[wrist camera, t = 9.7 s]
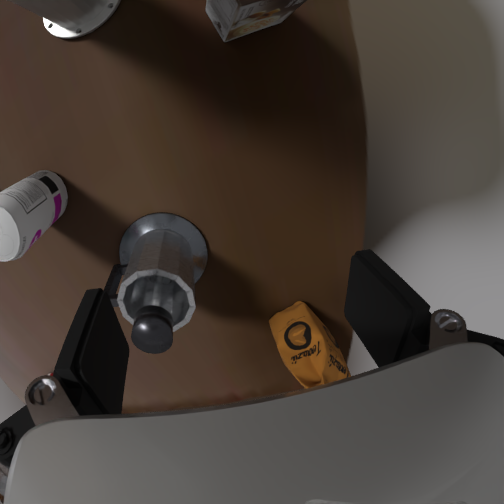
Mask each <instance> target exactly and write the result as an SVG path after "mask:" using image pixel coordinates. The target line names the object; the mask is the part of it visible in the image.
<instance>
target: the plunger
mask: <svg viewBox="0 0 504 504" xmlns="http://www.w3.org/2000/svg"><path fill="white" fill-rule="evenodd" d="M145 277H146V278H147V279H148V280H150V281H151V282H153V283H155V286H154V292H153V299H152V305H147V306H144V307H142V308H140V309H139V310H138V311H137V312H136V314H135V318H134V324H133V329H132V334H131V338H132V341H133V343H134V345H135V346H136V347H137V348H139V349H140V350H142V351H144V352H147V353H152V354H157V353H162V352H165V351H166V350H168V349H169V348H170V347H171V345H172V342H173V318H172V316H171V314H170V313H169V312H168V311H167V310H166V309H164V308H163V307H160V299H161V291H162V284H168V283H171V282H173V281H175V280H172V279H169V278H166V277H163V276H160V275H157V274H156V275H149V276H145Z"/></svg>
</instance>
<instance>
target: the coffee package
mask: <svg viewBox="0 0 504 504" xmlns="http://www.w3.org/2000/svg"><path fill="white" fill-rule="evenodd" d="M269 324H270V327H271V330H272V334H273V336H274V339H275V341H276V344H277V347H278V350H279V353H280V355H281V358H282V360H283V362H284V364H285V366H286V367H287V368H288V369H289V371H290V372H291V373H292V374H293V375H294V376H295V377H296V379H297V380H298V381H299V382H300V383H301V385H302V386H303V387H304V388H305V389H307V388H311V387H315V386H319V385H323V384H326V383H330V382H334V381H337V380H341V379H344V378H348V377H351V375H350V372H349V370H348V367H347V365H346V362H345V360H344V358H343V355H342V353H341V351H340V348H339V346H338V344H337V342H336V340H335V339H334V338H333V336H332V335H331V333H330V332H329V330H328V329H327V327H326V326H325V325H324V324H323V323H322V322H321V321H320V319H319V318H318V317H317V316H316V315H315V314H314V312H313V311H312V310H311V309H310V308H309V307H308V306H307V305H306V304H305V303H304V302H301V301H298V302H296V303H295V304H294V305H292V306H291V307H288V308H286V309H285V310H283V311H281V312H277V313H276V314H275V315H274V316H273V317H272V318H271V319H270V320H269Z"/></svg>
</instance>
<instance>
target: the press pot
mask: <svg viewBox="0 0 504 504" xmlns="http://www.w3.org/2000/svg"><path fill="white" fill-rule="evenodd" d="M119 255H120V262H121V265H120V264H115V265H114V266H113V269H112V271H111V273H110V276H109V278H108V281H107V283H106V286H105V288H104V291H103V292H105V291H106V292H107V293H108V295H109V297H110V300H111V303H112V306H113V307H117V306H119V307H120V310H121V312H122V315H123V317H125V318H126V319H127V320H128V321H129V322H130V323H131V324H134V318H135V314H136V312H137V311H138V310H139V309H140V308H142V307H144V306H147V305H152V299H153V292H154V286H155V283H153V282H151V281H150V280H148V279H147V278H146V277H145V276H149V275H156V274H157V275H160V276H163V277H166V278H169V279H172V280H175V281H173V282H171V283H168V284H162V291H161V299H160V307H163V308H164V309H166V310H167V311H168V312H169V313H170V314H171V316H172V318H173V332H174V331H176V330H177V329H179V328H180V327H182V326H184V325H185V324H187V323H188V322H189V321H190V318H191V316H192V314H193V312H194V310H195V308H196V304H195V283H196V282H197V281H198V280H199V278H200V277H201V276H202V274H203V272H204V270H205V267H206V264H207V247H206V243H205V240H204V238H203V236H202V234H201V233H200V231H199V230H198V229H197V227H196V226H195V225H194V224H192V223H191V222H190V221H188V220H187V219H185V218H183V217H181V216H179V215H175V214H172V213H163V212H160V213H152V214H148V215H145V216H143V217H141V218H139V219H138V220H136V221H135V222H133V223H132V224H131V225H130V226H129V228H128V229H127V230H126V232H125V234H124V235H123V238H122V240H121V243H120V250H119ZM122 275H124V277H123V280H122V283H121V287H120V290H119V294H116V291H117V288H118V285H119V282H120V279H121V276H122Z"/></svg>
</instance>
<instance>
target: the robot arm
mask: <svg viewBox="0 0 504 504" xmlns="http://www.w3.org/2000/svg"><path fill="white" fill-rule="evenodd" d="M8 1H10V2H13V3H15V4H17V5H19V6H21V7H23V8H25V9H27V10H29V11H31V12H33V13H35V14H37V15H39V16H41V17H43V22H44V25H45V27H46V29H47V31H48V32H50V33H51V34H52V35H54V36H56V37H59V38H62V39H73V38H78V37H82V36H84V35H87V34H89V33H91V32H93V31H94V30H96V29H98V28H99V27H100V26H101V25H103V24H104V23H105V22H106V21H107V20H108V19H109V18H110V17H111V16H112V14H113V13H114V12H115V11H116V9H117V7H118V5H119V3H120V1H121V0H8ZM112 6H113V7H112ZM111 7H112V8H111ZM80 31H81V32H80ZM429 309H430V305H429V304H428V303H427V302H425V300H424V299H423V298H422V297H420V295H418V294H417V293H416V292H415V291H414V290H413V289H412V288H411V287H410V286H409V285H408V284H407V283H406V282H405V281H404V280H403V279H402V278H401V277H400V276H399V275H398V274H397V273H395V271H393V270H392V269H391V268H390V267H389V266H388V265H387V264H386V263H385V262H384V261H383V260H382V259H380V258H379V257H378V256H377V255H376V254H375V253H374V252H373V251H372V250H370V249H368V250H362V251H357V252H356V253H355V255H354V256H352V258H351V265H350V273H349V281H348V288H347V296H346V302H345V309H344V313H345V317H346V319H347V320H348V322H349V323H350V325H351V326H352V328H353V329H354V331H355V332H356V334H357V335H358V337H359V338H360V340H361V341H362V343H363V344H364V346H365V347H366V349H367V350H368V352H369V353H370V355H371V356H372V358H373V359H374V361H375V362H376V364H377V366H378V367H379V368H376V369H374V370H370V371H367V372H364V373H361V374H358V375H355V376H351V377H348V378H344V379H341V380H337V381H334V382H330V383H326V384H323V385H319V386H315V387H311V388H307V389H303V390H299V391H294V392H290V393H286V394H281V395H276V396H271V397H266V398H261V399H256V400H251V401H245V402H239V403H232V404H226V405H219V406H212V407H204V408H196V409H187V410H178V411H165V412H150V413H134V414H121V411H122V402H123V394H124V386H125V378H126V371H127V364H128V358H129V346H128V343H127V341H126V338H125V336H124V333H123V331H122V329H121V326H120V324H119V321H118V319H117V316H116V313H115V311H114V308H113V306H112V303H111V300H110V297H109V295H108V293H107V292H106V291H105V292H103V290H102V289H101V288H98V289H90V290H87V291H86V292H85V295H84V297H83V299H82V301H81V303H80V306H79V308H78V310H77V312H76V315H75V317H74V320H73V322H72V324H71V327H70V329H69V332H68V334H67V337H66V339H65V342H64V344H63V347H62V350H61V352H60V355H59V358H58V360H57V363H56V366H55V370H54V373H53V376H50V375H44V376H40V377H38V378H36V379H34V380H33V381H32V382H31V383H30V384H29V385H28V387H27V389H26V391H25V402H26V406H24V407H23V408H21V409H20V410H19V411H17V412H16V413H15V414H13V415H12V416H10V417H9V418H8V419H7V420H5V421H4V422H2V423H1V424H0V504H504V340H503V339H500V338H497V337H493V336H489V335H485V334H482V333H478V332H474V331H470V330H467V328H466V323H465V320H464V319H463V317H461V316H460V315H459V314H458V313H456V312H454V311H452V310H448V309H440V310H437V311H434V313H433V314H431V313H430V312H429Z"/></svg>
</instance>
